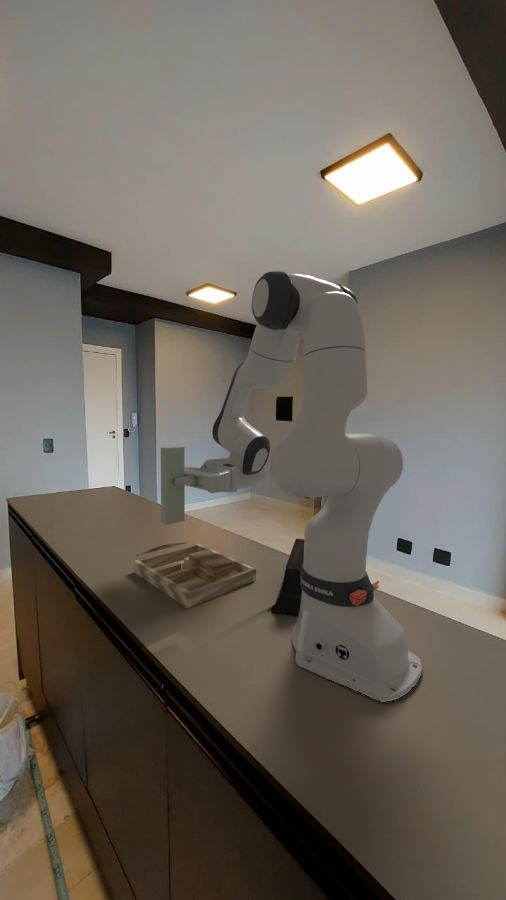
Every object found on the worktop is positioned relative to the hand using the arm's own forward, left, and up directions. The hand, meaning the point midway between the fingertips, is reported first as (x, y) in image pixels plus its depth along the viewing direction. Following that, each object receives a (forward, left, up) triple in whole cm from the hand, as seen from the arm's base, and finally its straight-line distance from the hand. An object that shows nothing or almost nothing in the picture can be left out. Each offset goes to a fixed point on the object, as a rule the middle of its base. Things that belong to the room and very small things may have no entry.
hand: (169, 480), depth 88 cm
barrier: (-22, -22, -27) cm, 41 cm away
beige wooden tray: (-2, -6, -26) cm, 27 cm away
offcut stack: (-3, -10, -25) cm, 27 cm away
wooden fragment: (+20, -16, -27) cm, 37 cm away
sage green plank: (0, -1, -10) cm, 10 cm away
